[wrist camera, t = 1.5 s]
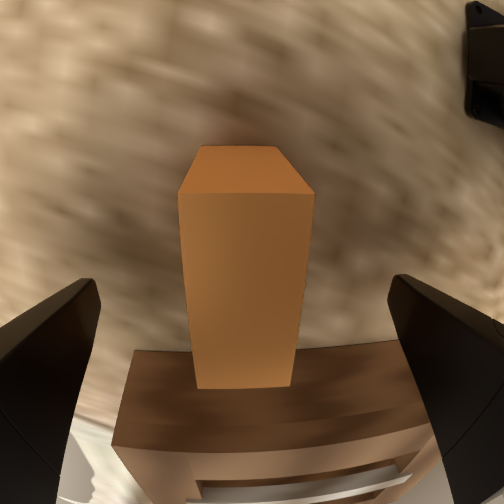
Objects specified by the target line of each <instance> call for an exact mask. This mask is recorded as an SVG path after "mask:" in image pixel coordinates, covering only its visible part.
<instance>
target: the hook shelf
mask: <svg viewBox="0 0 504 504" xmlns="http://www.w3.org/2000/svg"><path fill="white" fill-rule="evenodd" d="M111 446H112V448H113V449H114V451H115V452H116V454H117V455H118V457H119V458H120V460H121V461H122V462H123V464H124V465H125V467H126V468H127V470H128V471H129V472H130V474H131V475H132V477H133V478H134V479H135V481H136V482H137V483H138V485H139V486H140V487H141V489H142V490H143V491H144V492H145V494H146V495H147V496H148V497H149V499H150V500H151V501H152V502H153V504H387V503H391V502H394V501H397V500H398V499H399V498H400V497H402V496H403V495H404V494H405V493H406V492H407V491H408V490H410V489H411V488H412V487H413V486H414V485H415V484H416V483H417V482H419V480H421V479H422V478H423V477H424V476H425V475H426V474H427V473H428V472H429V471H430V470H431V469H432V468H433V467H434V466H435V465H436V464H437V463H438V462H439V461H440V460H441V459H442V457H441V454H440V451H439V448H438V445H437V441H436V438H435V435H434V432H433V429H432V426H431V423H430V421H429V418H428V415H427V412H426V409H425V406H424V404H423V401H422V398H421V395H420V393H419V390H418V387H417V385H416V382H415V380H414V377H413V374H412V372H411V369H410V367H409V364H408V362H407V359H406V357H405V354H404V352H403V350H402V347H401V344H400V342H399V340H394V341H386V342H378V343H369V344H360V345H351V346H340V347H329V348H316V349H301V350H296V351H295V358H294V364H293V370H292V376H291V382H290V386H286V387H269V388H245V389H198V388H197V382H196V375H195V368H194V361H193V354H192V352H155V351H134V354H133V358H132V362H131V365H130V369H129V373H128V377H127V380H126V384H125V388H124V392H123V396H122V400H121V404H120V408H119V412H118V417H117V421H116V425H115V430H114V434H113V439H112V443H111Z"/></svg>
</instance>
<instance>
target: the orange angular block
mask: <svg viewBox="0 0 504 504" xmlns="http://www.w3.org/2000/svg"><path fill="white" fill-rule="evenodd" d="M177 196H178V212H179V227H180V240H181V253H182V264H183V275H184V285H185V295H186V304H187V313H188V322H189V330H190V338H191V346H192V354H193V361H194V368H195V375H196V382H197V388H198V389H245V388H269V387H286V386H290V382H291V376H292V370H293V364H294V358H295V351H296V345H297V339H298V332H299V325H300V318H301V311H302V304H303V297H304V289H305V282H306V274H307V266H308V258H309V249H310V240H311V231H312V222H313V212H314V202H315V193H314V192H313V191H312V189H311V188H310V187H309V186H308V184H307V183H306V182H305V181H304V179H303V178H302V177H301V176H300V175H299V173H298V172H297V171H296V170H295V169H294V167H293V166H292V165H291V164H290V163H289V161H288V160H287V159H286V158H285V157H284V156H283V154H282V153H281V152H280V151H279V150H278V149H277V147H276V146H201V148H200V150H199V152H198V153H197V155H196V157H195V159H194V161H193V163H192V165H191V167H190V169H189V171H188V173H187V175H186V177H185V179H184V181H183V183H182V185H181V187H180V189H179V192H178V194H177Z"/></svg>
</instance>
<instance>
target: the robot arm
mask: <svg viewBox="0 0 504 504" xmlns="http://www.w3.org/2000/svg"><path fill="white" fill-rule="evenodd" d="M475 8H476V9H477V11H476V9H475ZM477 12H478V13H477ZM467 15H468V83H467V99H466V112H467V114H468V116H469V117H470V118H472V119H476V120H479V121H482V122H485V123H488V124H491V125H494V126H497V127H500V128H503V129H504V16H503V15H501V14H500V13H498V12H496V11H494V10H493V9H491V8H489V7H487V6H485V5H484V4H482V3H480V2H478V1H472V2H469V3H468V4H467ZM475 106H476V112H474V107H475ZM387 302H388V306H389V310H390V313H391V316H392V319H393V322H394V325H395V329H396V332H397V335H398V339H399V342H400V344H401V347H402V350H403V352H404V354H405V357H406V359H407V362H408V364H409V367H410V369H411V372H412V374H413V377H414V380H415V382H416V385H417V387H418V390H419V393H420V395H421V398H422V401H423V404H424V406H425V409H426V412H427V415H428V418H429V421H430V423H431V426H432V429H433V432H434V435H435V438H436V441H437V445H438V448H439V451H440V454H441V457H442V461H443V464H444V468H445V471H446V475H447V478H448V482H449V485H450V489H451V493H452V497H453V501H454V504H486V503H488V502H490V501H491V500H493V499H495V498H496V497H498V496H500V495H501V494H503V497H504V324H502V323H500V322H498V321H497V320H495V319H491V317H489V316H487V315H485V314H484V313H482V312H480V311H478V310H476V309H474V308H472V307H470V306H468V305H467V304H465V303H463V302H461V301H459V300H457V299H455V298H453V297H451V296H449V295H447V294H445V293H443V292H441V291H439V290H437V289H435V288H433V287H431V286H429V285H428V284H426V283H424V282H422V281H420V280H417V279H415V278H413V277H411V276H409V275H407V274H398V275H395V276H394V277H393V280H392V283H391V287H390V290H389V294H388V299H387ZM100 310H101V301H100V297H99V293H98V290H97V286H96V282H95V280H94V279H92V278H81V279H79V280H77V281H76V282H74V283H72V284H71V285H69V286H67V287H65V288H64V289H62V290H60V291H59V292H57V293H55V294H54V295H52V296H50V297H49V298H47V299H45V300H44V301H42V302H40V303H39V304H37V305H36V306H34V307H32V308H31V309H29V310H27V311H26V312H24V313H23V314H21V315H19V316H18V317H16V318H15V319H13V320H11V321H10V322H8V323H7V324H5V325H4V326H2V327H1V328H0V504H56V499H57V492H58V486H59V481H60V476H59V475H60V474H61V469H62V463H63V458H64V454H65V449H66V444H67V439H68V435H69V431H70V427H71V423H72V419H73V415H74V411H75V407H76V403H77V399H78V396H79V392H80V389H81V385H82V382H83V378H84V375H85V371H86V368H87V365H88V362H89V358H90V355H91V351H92V347H93V343H94V338H95V333H96V328H97V324H98V319H99V315H100Z"/></svg>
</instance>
